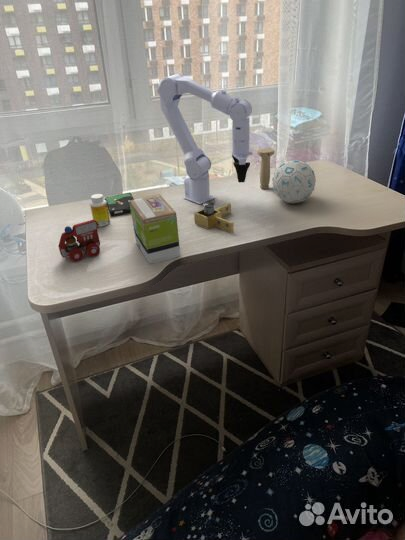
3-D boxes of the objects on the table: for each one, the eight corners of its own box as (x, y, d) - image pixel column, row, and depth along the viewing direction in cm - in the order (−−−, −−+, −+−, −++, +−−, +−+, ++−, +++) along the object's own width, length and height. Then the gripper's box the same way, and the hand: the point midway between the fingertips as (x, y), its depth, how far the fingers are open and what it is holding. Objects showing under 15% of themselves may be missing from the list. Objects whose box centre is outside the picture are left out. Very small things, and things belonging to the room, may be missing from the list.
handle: (274, 189, 162) (276, 151, 154) (259, 191, 160) (260, 153, 152) (269, 184, 166) (271, 147, 157) (254, 187, 164) (255, 149, 156)
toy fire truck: (59, 256, 124) (51, 225, 119) (98, 244, 129) (92, 214, 124) (65, 266, 119) (56, 234, 114) (106, 253, 124) (99, 222, 119)
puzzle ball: (310, 211, 142) (315, 169, 134) (267, 207, 147) (269, 166, 139) (315, 195, 154) (319, 155, 146) (275, 192, 159) (277, 153, 151)
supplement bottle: (112, 224, 141) (107, 196, 135) (96, 228, 139) (90, 200, 133) (108, 218, 145) (102, 191, 140) (92, 222, 143) (86, 194, 138)
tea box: (134, 243, 129) (128, 199, 121) (165, 236, 132) (160, 192, 124) (148, 265, 117) (142, 218, 109) (181, 257, 120) (177, 210, 112)
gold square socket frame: (194, 223, 139) (194, 212, 136) (223, 210, 147) (223, 199, 145) (226, 236, 130) (225, 225, 128) (255, 221, 138) (255, 210, 136)
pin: (201, 223, 138) (200, 204, 135) (208, 219, 141) (207, 200, 137) (210, 226, 136) (210, 206, 133) (217, 222, 139) (217, 202, 135)
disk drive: (139, 213, 150) (131, 198, 161) (138, 206, 148) (130, 191, 160) (111, 218, 147) (105, 203, 159) (110, 211, 145) (103, 196, 157)
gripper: (254, 144, 132) (253, 185, 139) (250, 133, 144) (250, 170, 151) (232, 145, 132) (233, 185, 139) (230, 134, 144) (230, 171, 152)
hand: (240, 178), depth 145 cm, fingers open, 7 cm apart
